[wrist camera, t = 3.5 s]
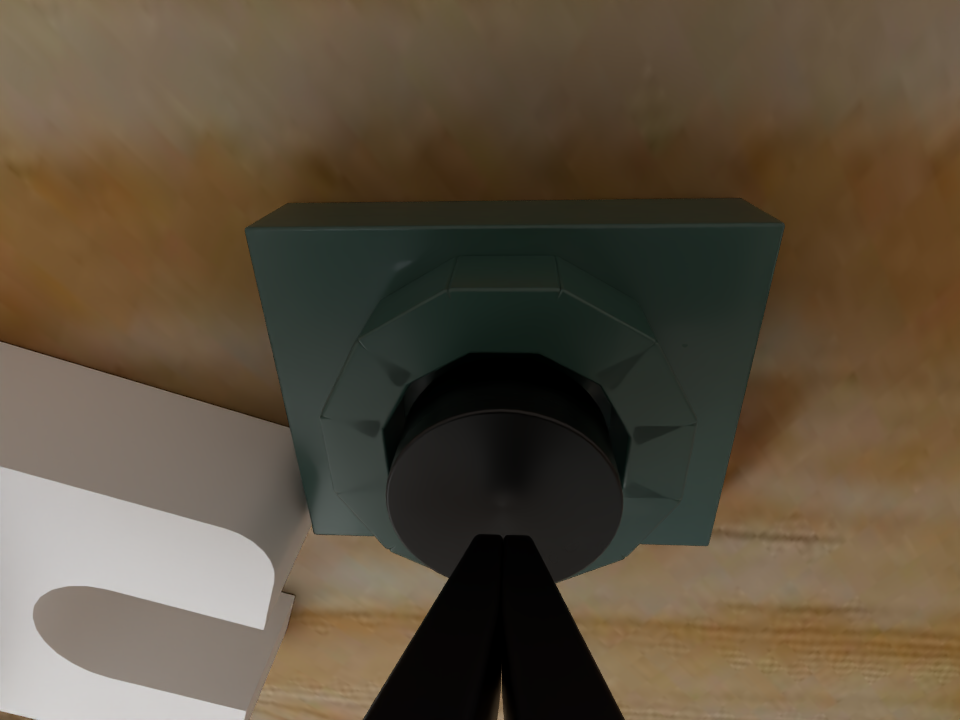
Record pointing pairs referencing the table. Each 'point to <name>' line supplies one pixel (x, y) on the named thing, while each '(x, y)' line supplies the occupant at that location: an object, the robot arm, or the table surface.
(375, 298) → the button box
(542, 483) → the button
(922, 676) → the table surface
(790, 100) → the table surface
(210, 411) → the bracket
